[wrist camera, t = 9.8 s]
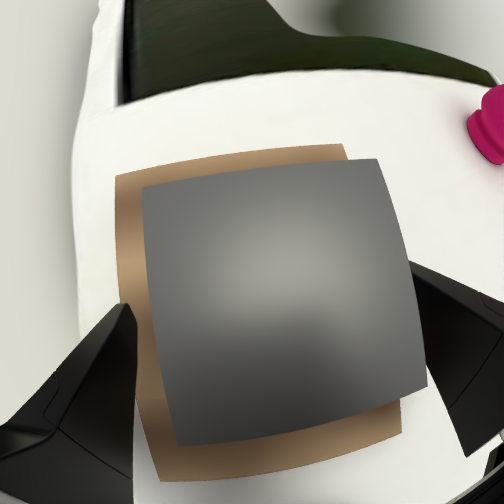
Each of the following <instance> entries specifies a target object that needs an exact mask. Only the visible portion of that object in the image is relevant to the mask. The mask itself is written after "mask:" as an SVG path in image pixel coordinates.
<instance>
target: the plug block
mask: <svg viewBox="0 0 504 504" xmlns="http://www.w3.org/2000/svg"><path fill="white" fill-rule="evenodd" d="M142 213H143V232H144V247H145V260H146V271H147V281H148V290H149V299H150V307H151V314H152V321H153V328H154V335H155V341H156V347H157V353H158V359H159V364H160V370H161V375H162V380H163V385H164V390H165V394H166V399H167V403H168V408H169V412H170V416H171V420H172V424H173V428H174V432H175V436H176V440H177V444H178V446H196V445H209V444H219V443H228V442H236V441H243V440H250V439H257V438H263V437H268V436H274V435H279V434H284V433H289V432H293V431H298V430H302V429H306V428H310V427H314V426H318V425H322V424H326V423H329V422H333V421H336V420H340V419H343V418H346V417H350V416H353V415H356V414H359V413H362V412H365V411H368V410H371V409H373V408H376V407H379V406H382V405H384V404H387V403H390V402H392V401H395V400H397V399H400V398H402V397H405V396H407V395H409V394H412V393H414V392H416V391H419V390H421V389H423V388H425V387H427V386H428V384H427V371H426V361H425V351H424V343H423V336H422V329H421V322H420V316H419V310H418V304H417V299H416V293H415V288H414V284H413V279H412V274H411V270H410V265H409V261H408V257H407V253H406V249H405V245H404V241H403V238H402V234H401V230H400V227H399V223H398V220H397V217H396V213H395V210H394V207H393V204H392V201H391V197H390V194H389V191H388V188H387V186H386V183H385V180H384V177H383V174H382V171H381V169H380V166H379V163H378V161H377V159H357V160H339V161H325V162H312V163H301V164H290V165H281V166H271V167H263V168H255V169H247V170H239V171H232V172H225V173H218V174H212V175H206V176H199V177H193V178H188V179H182V180H176V181H171V182H166V183H161V184H155V185H150V186H146V187H142Z"/></svg>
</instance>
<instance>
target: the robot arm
mask: <svg viewBox="0 0 504 504" xmlns="http://www.w3.org/2000/svg"><path fill="white" fill-rule="evenodd" d="M408 261H409V260H408ZM409 265H410V270H411V274H412V279H413V284H414V288H415V293H416V299H417V304H418V310H419V316H420V322H421V329H422V336H423V343H424V351H425V361H426V365H427V367H428V369H429V371H430V374H431V376H432V378H433V380H434V382H435V384H436V386H437V388H438V391H439V393H440V395H441V397H442V400H443V402H444V404H445V406H446V409H447V410H448V414H449V416H450V419H451V421H452V423H453V426H454V428H455V431H456V433H457V436H458V439H459V441H460V444H461V447H462V449H463V452H464V455H465V457H466V458H467V457H469V456H470V455H471V454H473V453H474V452H476V451H477V450H479V449H480V448H481V447H483V446H484V445H485V444H487V443H488V442H489V441H491V440H492V439H493V438H494V437H496V436H497V435H498V434H499V435H500V437H501V439H502V441H503V442H502V443H501V444H500V445H498V446H497V447H496V448H495V449H493V450H492V451H491V452H490V454H489V458H488V462H487V465H486V469H485V473H484V476H483V478H482V479H481V480H480V481H478V482H477V483H476V484H474V485H473V486H471V487H470V488H469V489H467V490H466V491H464V492H463V493H461V494H460V495H458V496H457V497H455V498H454V499H452V500H450V501H449V502H447V503H446V504H504V303H503V302H500V301H498V300H496V299H494V298H492V297H489V296H487V295H485V294H483V293H481V292H478V291H477V290H474V289H472V288H470V287H468V286H466V285H464V284H462V283H459V282H457V281H455V280H453V279H451V278H448V277H446V276H444V275H442V274H439V273H437V272H435V271H433V270H430V269H428V268H426V267H423V266H421V265H419V264H416V263H414V262H412V261H409ZM137 369H138V324H137V321H136V318H135V316H134V314H133V312H132V309H131V307H130V305H129V304H128V303H119V304H116V305H115V306H114V307H113V308H112V309H111V310H110V311H109V312H108V313H107V314H106V315H105V316H104V317H103V318H102V319H101V320H100V322H99V323H98V324H97V325H96V326H95V327H94V328H93V329H92V330H91V331H90V332H89V333H88V334H87V336H86V337H85V338H84V339H83V340H82V341H81V342H80V343H79V344H78V345H77V346H76V348H75V349H74V350H73V351H72V352H71V353H70V354H69V355H68V357H67V358H66V359H65V360H64V361H63V362H62V363H61V365H60V366H59V367H58V368H57V369H56V371H54V372H53V374H52V375H51V376H50V377H49V378H48V380H47V381H46V382H45V383H44V384H43V385H42V386H41V387H40V389H39V390H37V392H36V393H35V394H34V395H33V396H32V397H31V398H30V399H29V400H28V401H27V402H26V403H25V404H24V405H23V406H22V407H21V408H20V409H19V410H18V411H17V412H16V413H15V414H14V415H13V416H12V417H11V418H10V419H9V420H8V421H7V422H6V423H5V424H3V425H1V426H0V504H134V502H133V480H132V479H133V426H134V407H135V393H136V381H137Z"/></svg>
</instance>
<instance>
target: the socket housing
mask: <svg viewBox="0 0 504 504" xmlns="http://www.w3.org/2000/svg"><path fill="white" fill-rule="evenodd" d="M339 160H348V159H347V156H346V153H345V150H344V148H343V145H342V144H326V145H310V146H296V147H285V148H275V149H265V150H256V151H248V152H240V153H233V154H225V155H219V156H212V157H206V158H200V159H194V160H188V161H182V162H177V163H172V164H166V165H161V166H157V167H152V168H147V169H142V170H138V171H133V172H129V173H125V174H121V175H117V176H115V239H116V260H117V274H118V286H119V296H120V303H128V304H129V305H130V307H131V309H132V312H133V314H134V316H135V318H136V321H137V324H138V369H137V381H136V393H135V395H136V400H137V404H138V408H139V412H140V416H141V420H142V424H143V428H144V431H145V435H146V438H147V442H148V445H149V449H150V452H151V455H152V458H153V461H154V464H155V467H156V470H157V473H158V476H159V479H160V481H166V482H177V481H205V480H219V479H229V478H238V477H246V476H253V475H260V474H266V473H272V472H277V471H282V470H287V469H292V468H296V467H301V466H305V465H309V464H313V463H317V462H320V461H324V460H328V459H331V458H334V457H338V456H341V455H344V454H347V453H350V452H353V451H356V450H359V449H362V448H365V447H368V446H370V445H373V444H376V443H378V442H381V441H383V440H386V439H388V438H391V437H393V436H395V435H398V434H400V433H402V429H401V410H400V399H397V400H395V401H392V402H390V403H387V404H384V405H382V406H379V407H376V408H373V409H371V410H368V411H365V412H362V413H359V414H356V415H353V416H350V417H346V418H343V419H340V420H336V421H333V422H329V423H326V424H322V425H318V426H314V427H310V428H306V429H302V430H298V431H293V432H289V433H284V434H279V435H274V436H268V437H263V438H257V439H250V440H243V441H236V442H228V443H219V444H209V445H196V446H178V444H177V440H176V436H175V432H174V428H173V424H172V420H171V416H170V412H169V408H168V403H167V399H166V394H165V390H164V385H163V380H162V375H161V370H160V364H159V359H158V353H157V347H156V341H155V335H154V328H153V321H152V314H151V307H150V299H149V290H148V281H147V271H146V260H145V247H144V232H143V213H142V187H146V186H150V185H155V184H161V183H166V182H171V181H176V180H182V179H188V178H193V177H199V176H206V175H212V174H218V173H225V172H232V171H239V170H247V169H255V168H263V167H271V166H281V165H290V164H301V163H312V162H325V161H339Z"/></svg>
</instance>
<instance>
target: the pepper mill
mask: <svg viewBox="0 0 504 504" xmlns="http://www.w3.org/2000/svg"><path fill="white" fill-rule="evenodd" d="M481 108H482V110H480V109H478V110H476V111H475V112H474V113H473V114H472V115H471V116H470V117H469V119H468V122H467V125H468V130H469V133H470V136H471V138H472V140H473V142H474V143H475V145H476V146H477V148H478V149H479V150H480V152H481V153H482V154H483V155H484V156H485V157H486V158H487V159H488V160H490V161H491V162H492V163H495V164H503V163H504V84H502V85H498V86H496V87H494V88H492V89H490V90H489V91H488V92H487V93H486V94H485V95H484V96H483V98H482V102H481Z"/></svg>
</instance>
